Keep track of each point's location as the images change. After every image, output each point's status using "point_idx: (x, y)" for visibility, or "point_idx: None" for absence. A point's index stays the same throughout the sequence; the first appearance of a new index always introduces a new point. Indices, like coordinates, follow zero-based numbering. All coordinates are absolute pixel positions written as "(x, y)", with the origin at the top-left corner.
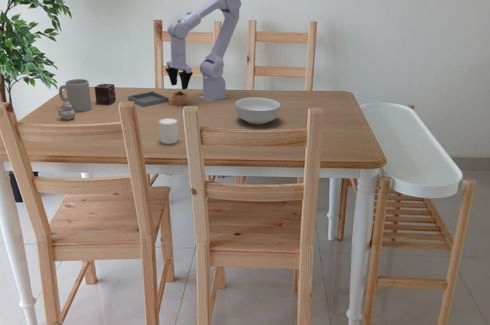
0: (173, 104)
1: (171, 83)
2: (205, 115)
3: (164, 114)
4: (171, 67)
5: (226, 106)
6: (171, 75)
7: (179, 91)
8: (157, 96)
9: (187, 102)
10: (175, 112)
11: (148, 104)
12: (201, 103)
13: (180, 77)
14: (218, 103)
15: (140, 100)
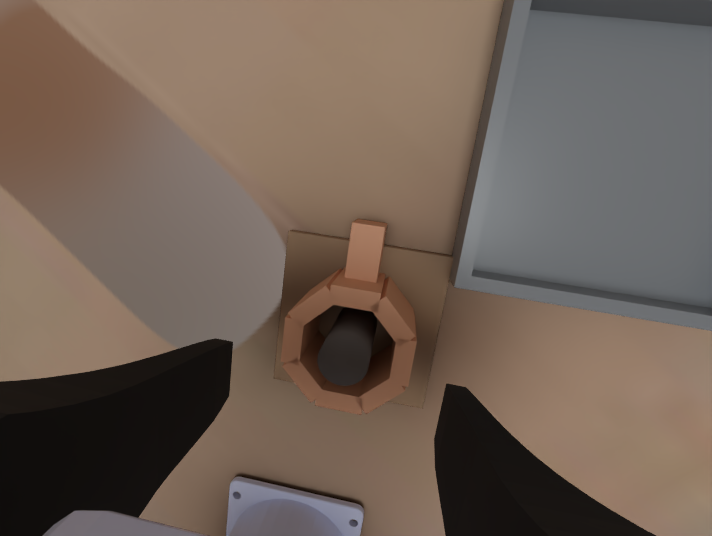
0: None
1: (463, 393)
2: (38, 240)
3: (235, 29)
4: (76, 521)
5: None
6: (482, 487)
7: (360, 375)
8: (626, 296)
9: None
10: (217, 135)
11: (499, 50)
12: (255, 420)
13: (93, 393)
14: (181, 484)
15: (701, 112)
